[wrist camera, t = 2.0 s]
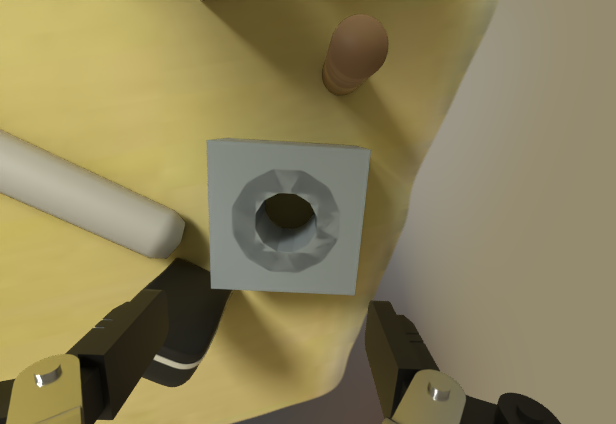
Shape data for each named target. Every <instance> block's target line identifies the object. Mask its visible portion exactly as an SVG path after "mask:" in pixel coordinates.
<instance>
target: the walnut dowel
mask: <svg viewBox="0 0 616 424" xmlns="http://www.w3.org/2000/svg"><path fill="white" fill-rule="evenodd" d="M387 53H388V37H387V34H386V31H385V29H384V27H383V26H382V25H381V23H380V22H379V21H378V20H376V19H375V18H373V17H371V16H369V15H365V14H357V15H352V16H350V17H348V18H346V19H344V20H343V21H342V22H341V23H340V24H339V25H338V26H337V28H336V29H335V31H334V33H333V36H332V39H331V42H330V46H329V49H328V53H327V56H326V60H325V63H324V67H323V70H322V79H323V82H324V85H325V86H326V88H327V89H328V90H329V91H330V92H332V93H334V94H336V95H346V94H348V93H350V92H352V91H353V90H354V89H356V88H357V87H358V86H359V85H361V84H362V83H363V82H364V81H365V80H367V79H368V78H369V77H370V76H372V75H373V74H374V73H375V72H376V71H378V69H379V68H380V67H381V66H382V65H383V63H384V61H385V59H386V56H387Z"/></svg>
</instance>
